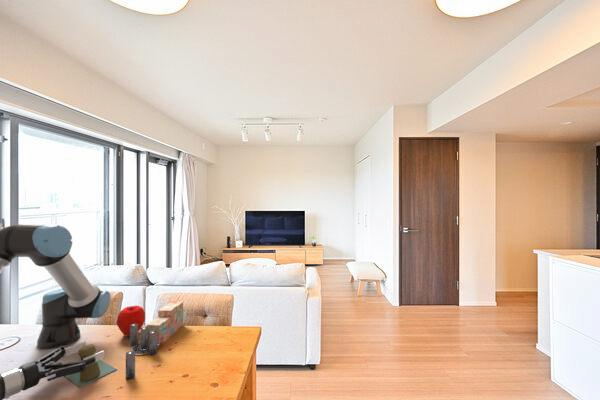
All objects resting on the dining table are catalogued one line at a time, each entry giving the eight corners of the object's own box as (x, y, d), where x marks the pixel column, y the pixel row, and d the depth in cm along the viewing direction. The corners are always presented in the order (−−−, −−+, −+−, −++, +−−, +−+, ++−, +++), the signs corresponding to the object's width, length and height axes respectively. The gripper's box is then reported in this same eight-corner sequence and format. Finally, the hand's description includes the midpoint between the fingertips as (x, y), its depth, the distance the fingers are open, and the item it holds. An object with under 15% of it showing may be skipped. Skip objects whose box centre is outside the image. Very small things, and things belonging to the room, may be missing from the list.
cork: (89, 381, 102) (85, 351, 102) (75, 380, 103) (71, 350, 103) (104, 370, 108) (100, 341, 107) (91, 370, 109) (87, 341, 109)
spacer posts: (93, 361, 116) (93, 338, 116) (136, 342, 132) (136, 322, 132) (128, 380, 104) (128, 355, 104) (172, 357, 119) (172, 335, 119)
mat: (59, 373, 108) (59, 372, 108) (95, 358, 119) (95, 357, 119) (80, 387, 100) (80, 386, 100) (116, 369, 110) (116, 368, 110)
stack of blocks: (159, 346, 128) (159, 318, 128) (145, 345, 129) (145, 317, 129) (183, 325, 150) (183, 301, 150) (171, 324, 150) (171, 300, 150)
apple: (124, 343, 131) (124, 313, 131) (111, 336, 137) (111, 308, 137) (150, 332, 141) (150, 305, 141) (136, 327, 147) (136, 300, 147)
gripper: (5, 378, 99) (78, 350, 117) (36, 405, 86) (112, 368, 105) (5, 356, 99) (78, 331, 117) (36, 379, 86) (112, 348, 105)
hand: (94, 349), depth 111 cm, fingers open, 13 cm apart
